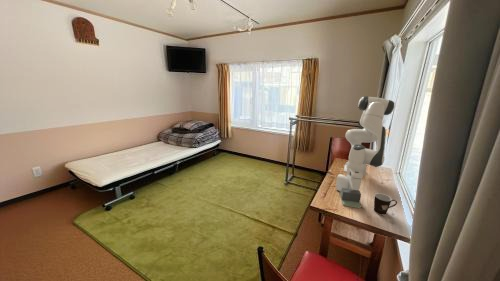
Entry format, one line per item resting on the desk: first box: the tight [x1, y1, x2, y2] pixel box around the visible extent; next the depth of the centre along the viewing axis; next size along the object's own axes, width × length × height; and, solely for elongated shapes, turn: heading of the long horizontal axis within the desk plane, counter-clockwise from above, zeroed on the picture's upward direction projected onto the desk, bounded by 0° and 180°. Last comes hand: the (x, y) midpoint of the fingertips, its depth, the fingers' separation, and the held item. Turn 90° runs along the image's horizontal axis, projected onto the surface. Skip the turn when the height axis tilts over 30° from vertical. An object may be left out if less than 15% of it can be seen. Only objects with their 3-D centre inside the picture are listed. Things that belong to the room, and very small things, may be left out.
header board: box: [339, 192, 362, 209], centre depth 130 cm, size 14×10×5 cm
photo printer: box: [335, 174, 350, 193], centre depth 140 cm, size 10×4×12 cm, turn 29°
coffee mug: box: [373, 192, 398, 216], centre depth 117 cm, size 12×9×10 cm
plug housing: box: [340, 188, 362, 204], centre depth 129 cm, size 5×11×6 cm, turn 74°
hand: (351, 189), depth 129 cm, fingers closed
